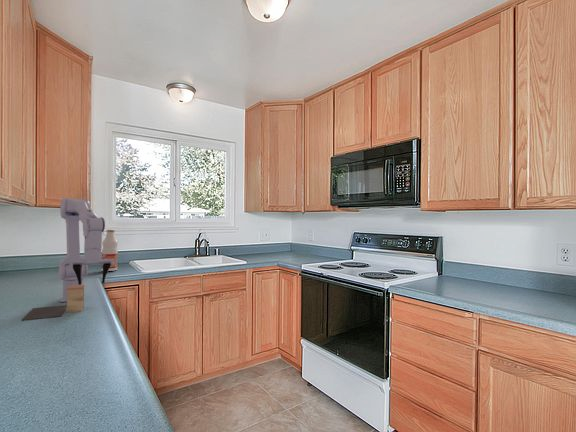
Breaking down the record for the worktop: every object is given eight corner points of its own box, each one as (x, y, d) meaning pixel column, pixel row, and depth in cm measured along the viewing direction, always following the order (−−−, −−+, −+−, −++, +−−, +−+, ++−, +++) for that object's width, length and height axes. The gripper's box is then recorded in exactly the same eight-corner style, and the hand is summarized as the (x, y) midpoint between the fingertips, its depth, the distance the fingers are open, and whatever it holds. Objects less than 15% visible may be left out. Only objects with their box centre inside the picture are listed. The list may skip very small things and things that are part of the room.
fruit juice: (120, 270, 215) (121, 230, 216) (108, 272, 206) (109, 230, 207) (110, 269, 219) (111, 229, 219) (97, 271, 210) (99, 229, 210)
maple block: (68, 309, 122) (69, 285, 122) (83, 307, 125) (84, 284, 125) (66, 312, 118) (67, 288, 118) (82, 310, 120) (83, 287, 120)
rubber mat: (32, 308, 121) (32, 308, 121) (67, 305, 126) (67, 305, 126) (21, 320, 107) (21, 319, 107) (60, 316, 112) (60, 315, 112)
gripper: (68, 249, 115) (67, 286, 115) (113, 248, 122) (112, 284, 121) (71, 248, 121) (70, 283, 121) (114, 247, 128) (113, 280, 128)
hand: (91, 283), depth 121 cm, fingers open, 7 cm apart
